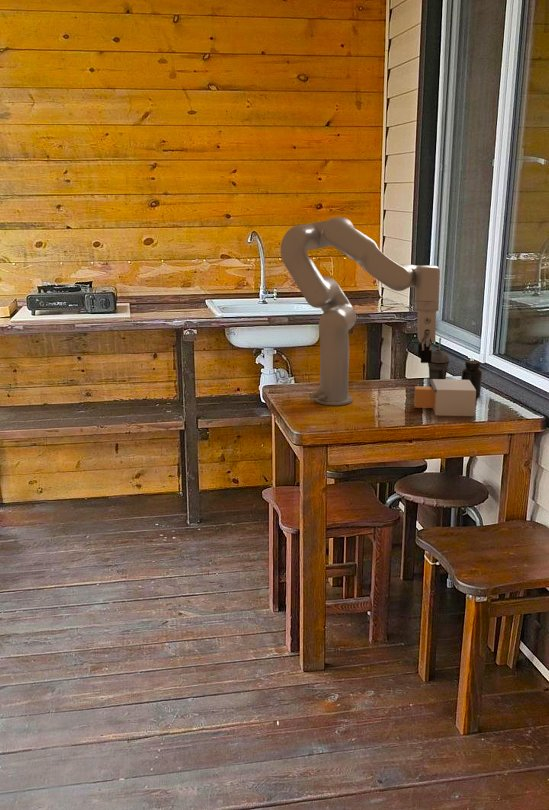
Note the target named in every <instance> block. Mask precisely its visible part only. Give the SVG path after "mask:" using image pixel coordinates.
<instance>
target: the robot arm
mask: <svg viewBox="0 0 549 810" xmlns="http://www.w3.org/2000/svg"><path fill="white" fill-rule="evenodd" d="M280 242H281V244H280V247H279V248H280V257H281V260H282V262H283V264H284V266H285V268H286V270H287V272H288V273H289V275H290V276H291V277H292V279H293V281H294V283H295V284H296V286H297V288H298V289H299V291H300V293H301V294H302V296H303V298H304V299H305V301H306V303H308V305H309V306H310V307H313V308H316V309H319V308H320V309H321V310H322V312H323V313H322V314H321V316H320V318H319V321H318V332H319V346H320V347H319V349H320V353H319V357H320V358H319V360H320V361H319V362H320V365H319V368H320V369H319V371H320V372H319V387H318V388H317V390H316V392H312V393H309V395H308V398H309V399H310V400H313V399H314V400H315V403H318V404H321V405H325V406H345V405H349V404H351V403H353V399H354V398H353V396H351V395H349V377H350V376H349V372H350V371H349V370H350V339H349V330H351V329H352V328H353V327H354V326H355V324H356V323H357V322H356V321H357V315H356V311H355V309H354V307H353V305H352V303H351V302H350V300H349V299H348V297H347V295H346V293H344V291H343V289H342V288H341V286H340V285H339V283H338V282H337V281H336V280H335V279H333V278H332V277H330V276H326V275H324V276H323V275H322V274H321V272H320V270H319V268H318V267H317V265H316V264H315V263H314V261H313V260H312V259H311V258H310V256H309V255H308V251H312V250H317V249H322V248H327V247H333V248H334V249H336V250H338V251H339V252H341V253H342V254H343V255H344V256H346V257H347V258H349V259H351V260H353V261H354V262H355V263H356V264H358V265H359V267H361V268H362V269H363V270H364V271H365V272H367V273H368V274H369V275H370V276H372V277H373V278H375V280H377V281H378V282H380V283H381V284H383V285H384V286H386V287H387V288H390V290H392V291H395V292H402V291H405V290H407V289H410V288H414V296H413V297H414V299H413V300H414V301H413V302H414V303H413V310H414V312H417V321H416V322H417V323H416V324H417V326H416V327H417V331H416V332H417V339H418V344H417V345H418V348H417V349H418V350H417V357H420V363H421V364H428V363H431V356H432V352H433V351H432V344H435V343H436V330H437V329H436V322H437V321H436V318H437V317H436V312H438V311H439V308H440V306H439V305H440V283H441V282H440V281H441V279H440V278H441V269H440V267H439V266H437V265H431V264H430V265H429V264H427V265H424V264H423V265H416V264H408V263H403V264H402V263H401V264H398V262H396V261H394V260H393V259H391V258H390V257H388V256H387V255H386V254H384V253H383V251H381V249H380V248H379V247H378V245H377V243H376V241H375V240H373V239H372V238H370V237H369V236H368V235H366V234H365V233H363V232H361V231H360V230H358V229H356V228H355V227H354V224H353V222H352V221H351V220H350V219H348V218H346V217H344V216H343V217H342V216H339V217H338V216H337V217H332V218H329V219H328V220H323V221H318V222H312V223H306V224H298V225H293V226H292V227H290V228H289V229H288V230H287V231H286V232H285V233H284V236H283V237H282V240H281V241H280Z"/></svg>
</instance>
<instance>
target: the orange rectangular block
mask: <svg viewBox="0 0 549 810" xmlns="http://www.w3.org/2000/svg"><path fill="white" fill-rule="evenodd" d="M413 397H414V399H413V406H414V408H420V409H421V408H426V409H428V408H429V409H430V408H431V409H433V408H434V400H435V392H434V390H433V388H432V387H429V386H423V385H421V386H420V385H419V386H418V385H417V386H414V396H413Z"/></svg>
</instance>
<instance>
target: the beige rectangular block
mask: <svg viewBox="0 0 549 810" xmlns="http://www.w3.org/2000/svg"><path fill="white" fill-rule="evenodd" d="M430 383H431V386H432V388H433V390H434V392H435V400H434V408H432V410H433V413H434V415H435V416H446V417H447V416H450V417H453V416H454V417H455V416H456V417H475V412H476V411H475V410H476V399H477V398H476V389H475V388H474V386H473V385H472V383H471V381H470V380H461V379H452V378H451V379H447V378H446V379H430Z"/></svg>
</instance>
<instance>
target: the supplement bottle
mask: <svg viewBox="0 0 549 810" xmlns="http://www.w3.org/2000/svg"><path fill="white" fill-rule="evenodd" d="M464 367H465V368H463V369H462V371H461V378H460V380H470V381H471V383H472V385H473V386H474V388H475V389H476V399H478V398H479V397H481V392H482V380H483V371H482V370H481V369H480V368H481V361H478V360H466V361H465V366H464Z"/></svg>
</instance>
